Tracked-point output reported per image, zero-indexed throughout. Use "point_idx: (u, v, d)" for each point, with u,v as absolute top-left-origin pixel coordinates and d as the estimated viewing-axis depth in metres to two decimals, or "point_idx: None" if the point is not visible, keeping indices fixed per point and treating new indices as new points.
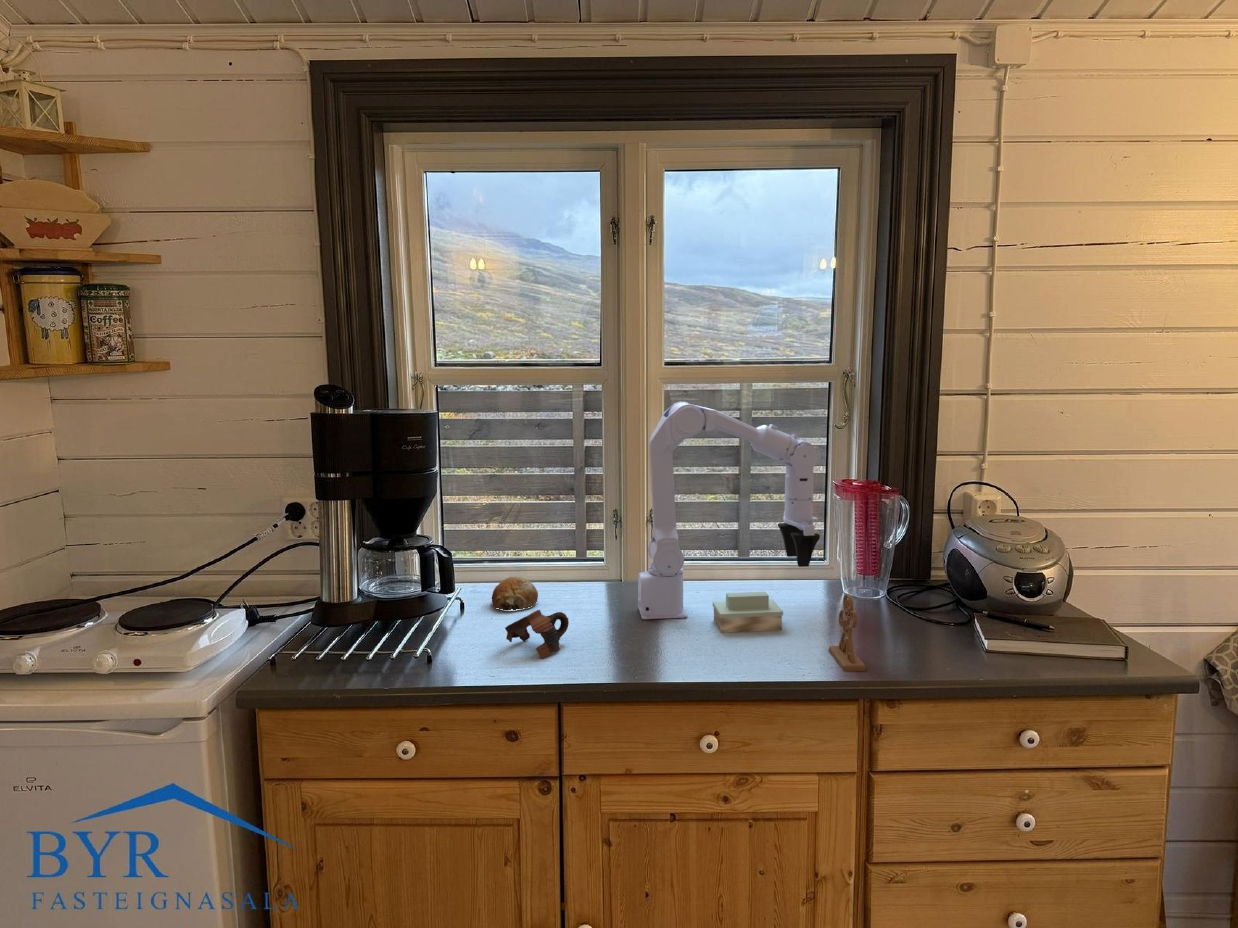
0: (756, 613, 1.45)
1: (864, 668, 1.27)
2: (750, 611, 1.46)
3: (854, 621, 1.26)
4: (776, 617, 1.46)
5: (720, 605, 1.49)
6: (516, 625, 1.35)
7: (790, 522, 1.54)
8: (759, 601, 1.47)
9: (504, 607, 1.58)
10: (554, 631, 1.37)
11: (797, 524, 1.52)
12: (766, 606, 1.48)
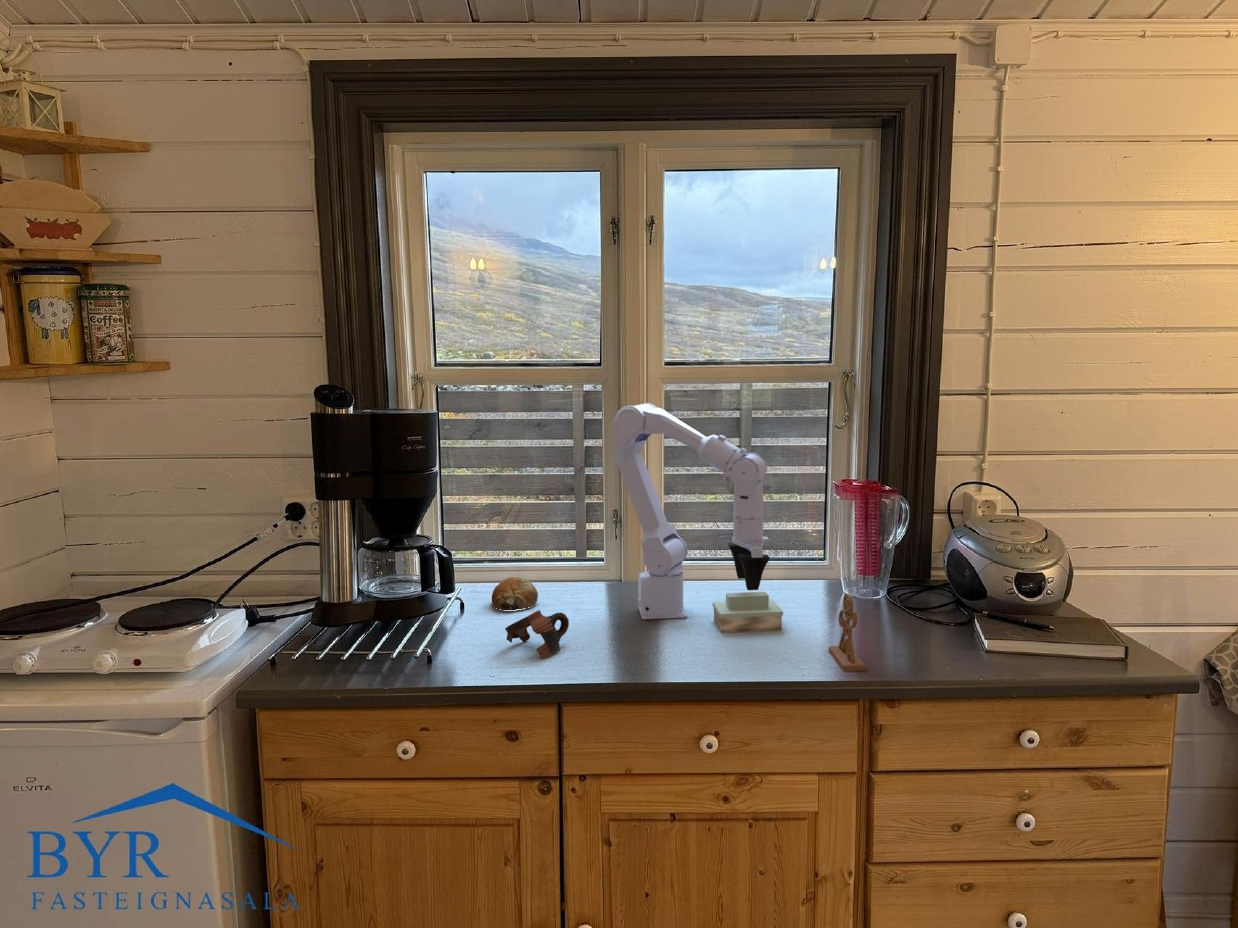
0: (756, 613, 1.45)
1: (864, 668, 1.27)
2: (750, 611, 1.46)
3: (854, 621, 1.26)
4: (776, 617, 1.46)
5: (720, 605, 1.49)
6: (516, 626, 1.35)
7: (738, 543, 1.44)
8: (759, 601, 1.47)
9: (504, 607, 1.58)
10: (554, 632, 1.37)
11: (745, 545, 1.42)
12: (766, 606, 1.48)
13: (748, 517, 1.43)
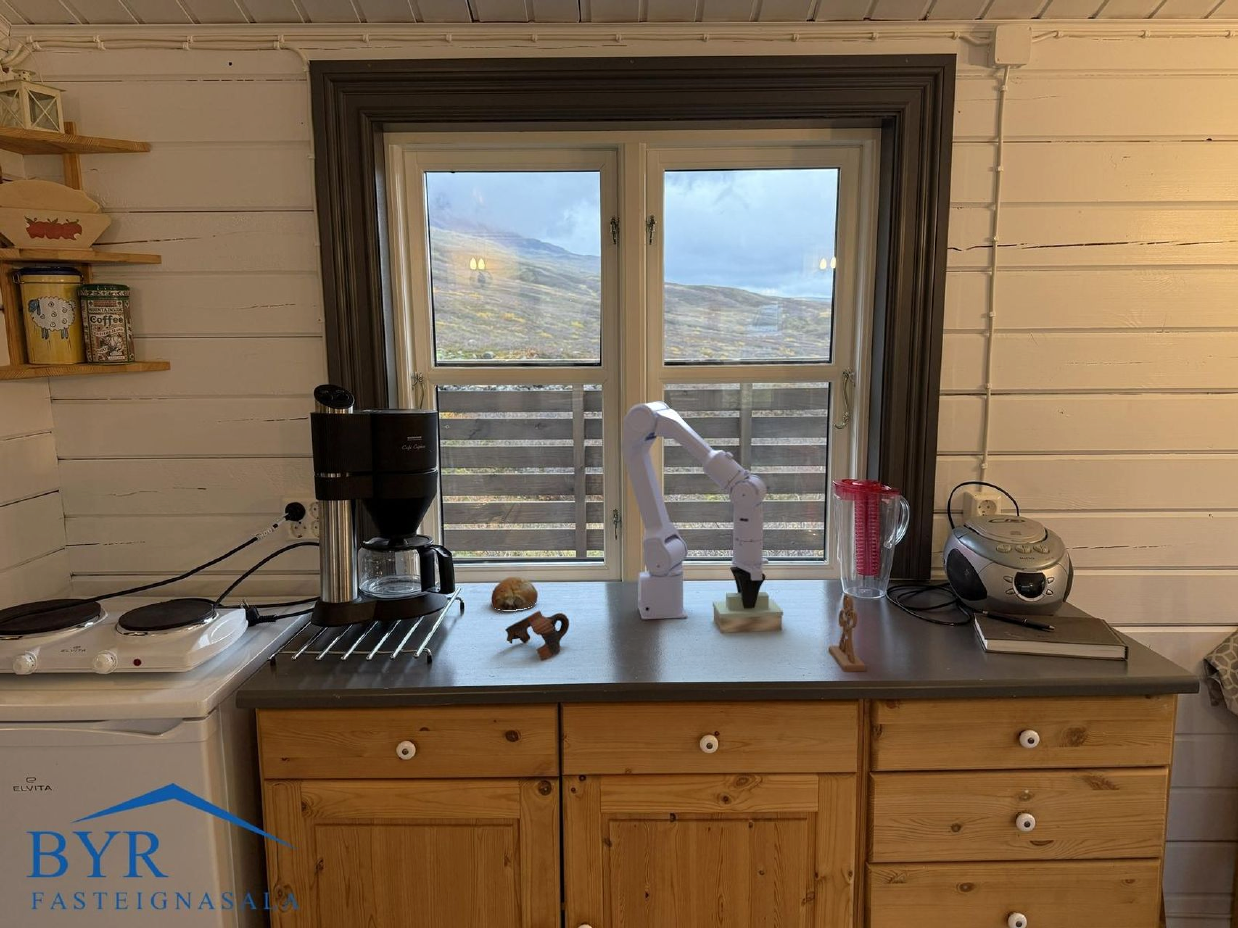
0: (756, 613, 1.45)
1: (864, 668, 1.27)
2: (750, 611, 1.46)
3: (854, 621, 1.26)
4: (776, 617, 1.46)
5: (720, 605, 1.49)
6: (517, 626, 1.35)
7: (738, 565, 1.45)
8: (759, 601, 1.47)
9: (504, 607, 1.58)
10: (555, 632, 1.37)
11: (745, 567, 1.43)
12: (766, 606, 1.48)
13: (748, 539, 1.44)
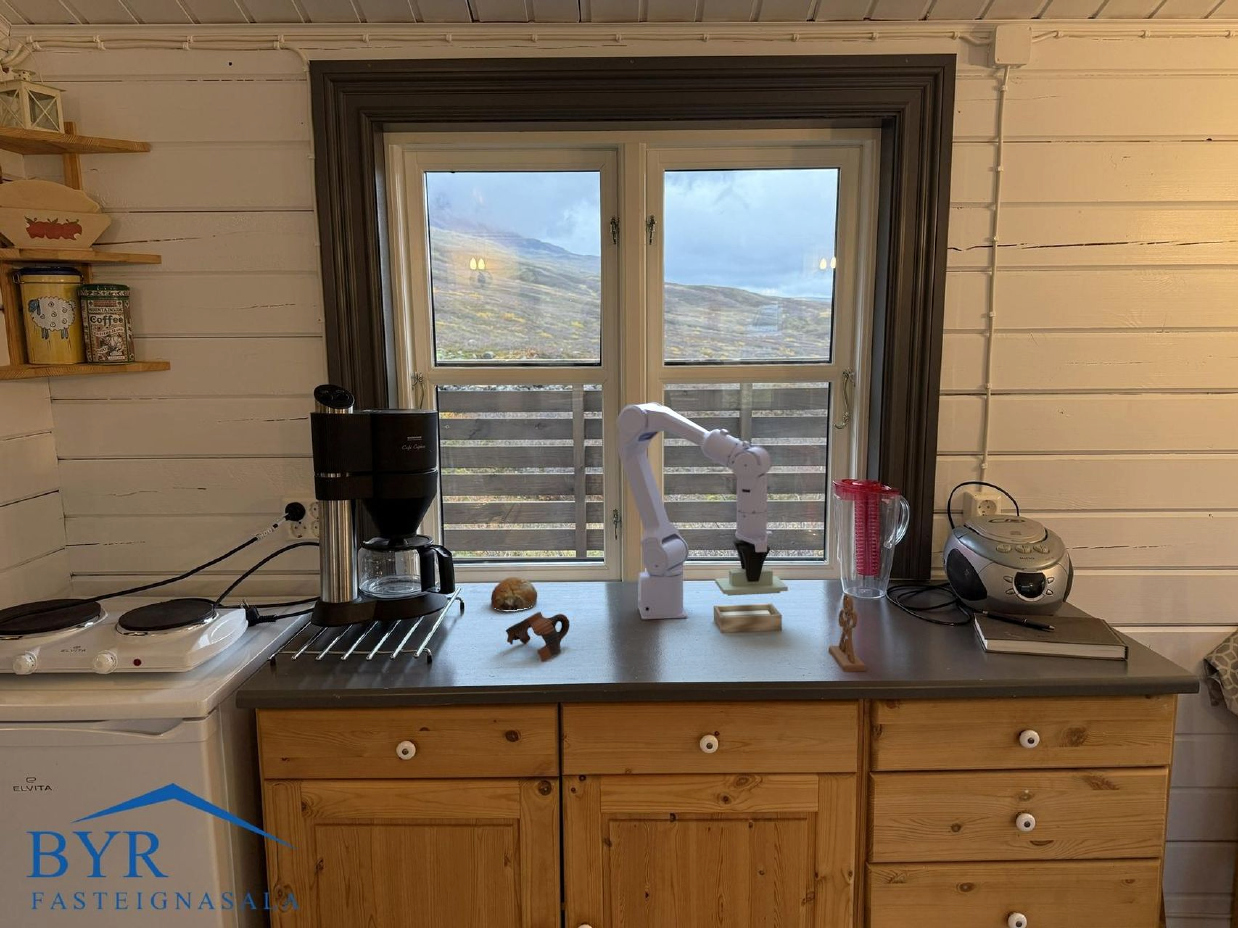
0: (760, 589, 1.42)
1: (864, 668, 1.27)
2: (754, 587, 1.43)
3: (854, 621, 1.26)
4: (776, 617, 1.46)
5: (723, 582, 1.46)
6: (517, 627, 1.34)
7: (742, 537, 1.42)
8: (763, 576, 1.44)
9: (503, 607, 1.58)
10: (555, 633, 1.36)
11: (749, 539, 1.40)
12: (770, 582, 1.45)
13: (750, 511, 1.41)
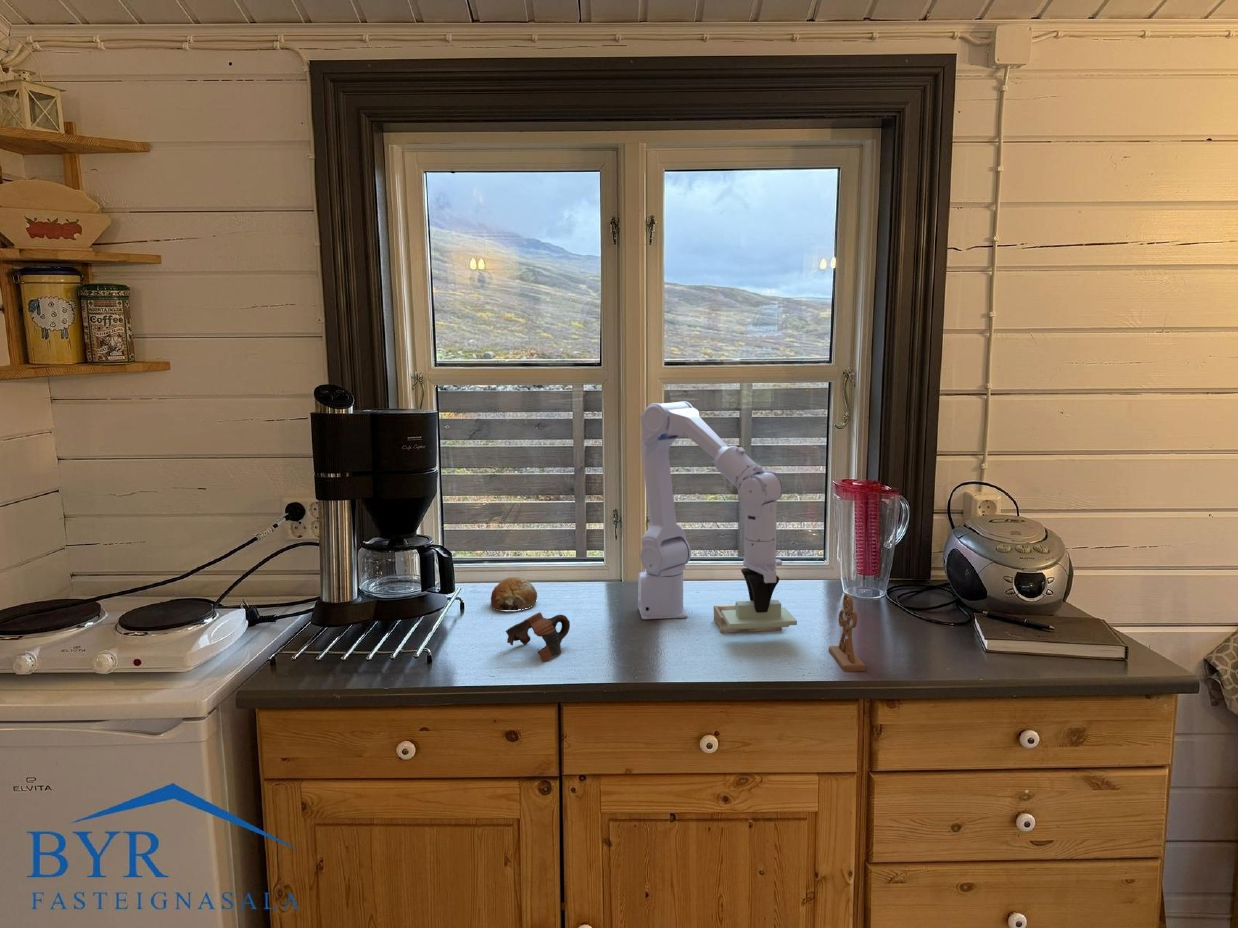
0: (768, 623, 1.36)
1: (864, 668, 1.27)
2: (762, 620, 1.37)
3: (854, 621, 1.26)
4: None
5: (729, 614, 1.40)
6: (517, 628, 1.34)
7: (750, 566, 1.36)
8: (771, 609, 1.38)
9: (503, 608, 1.58)
10: (555, 634, 1.36)
11: (757, 569, 1.34)
12: (778, 615, 1.39)
13: (755, 539, 1.35)
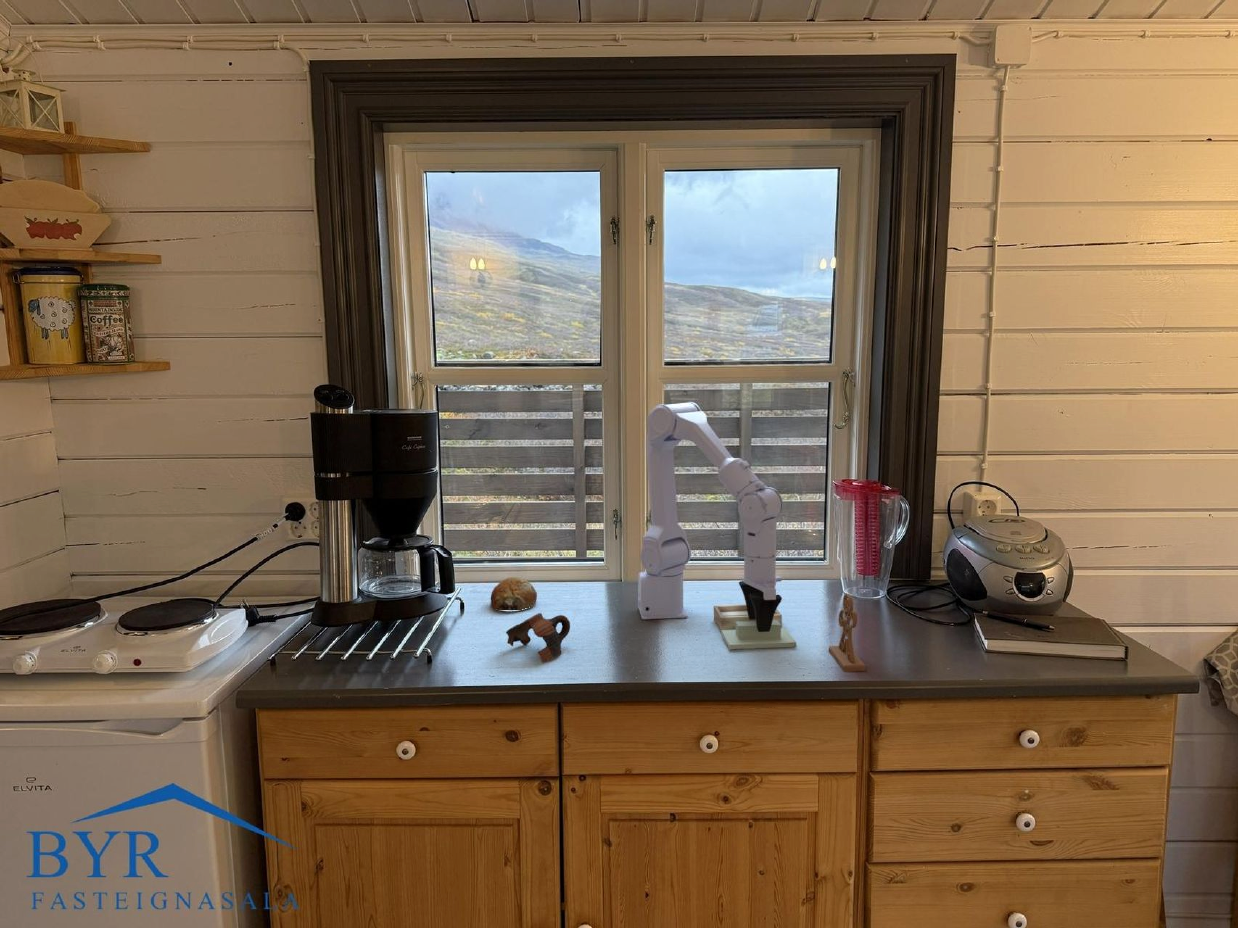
0: (768, 644, 1.37)
1: (864, 668, 1.27)
2: (761, 641, 1.37)
3: (854, 621, 1.26)
4: (776, 617, 1.46)
5: (729, 634, 1.41)
6: (518, 629, 1.33)
7: (749, 582, 1.36)
8: (771, 630, 1.39)
9: (503, 608, 1.58)
10: (556, 635, 1.36)
11: (757, 586, 1.34)
12: (778, 636, 1.39)
13: (755, 555, 1.35)
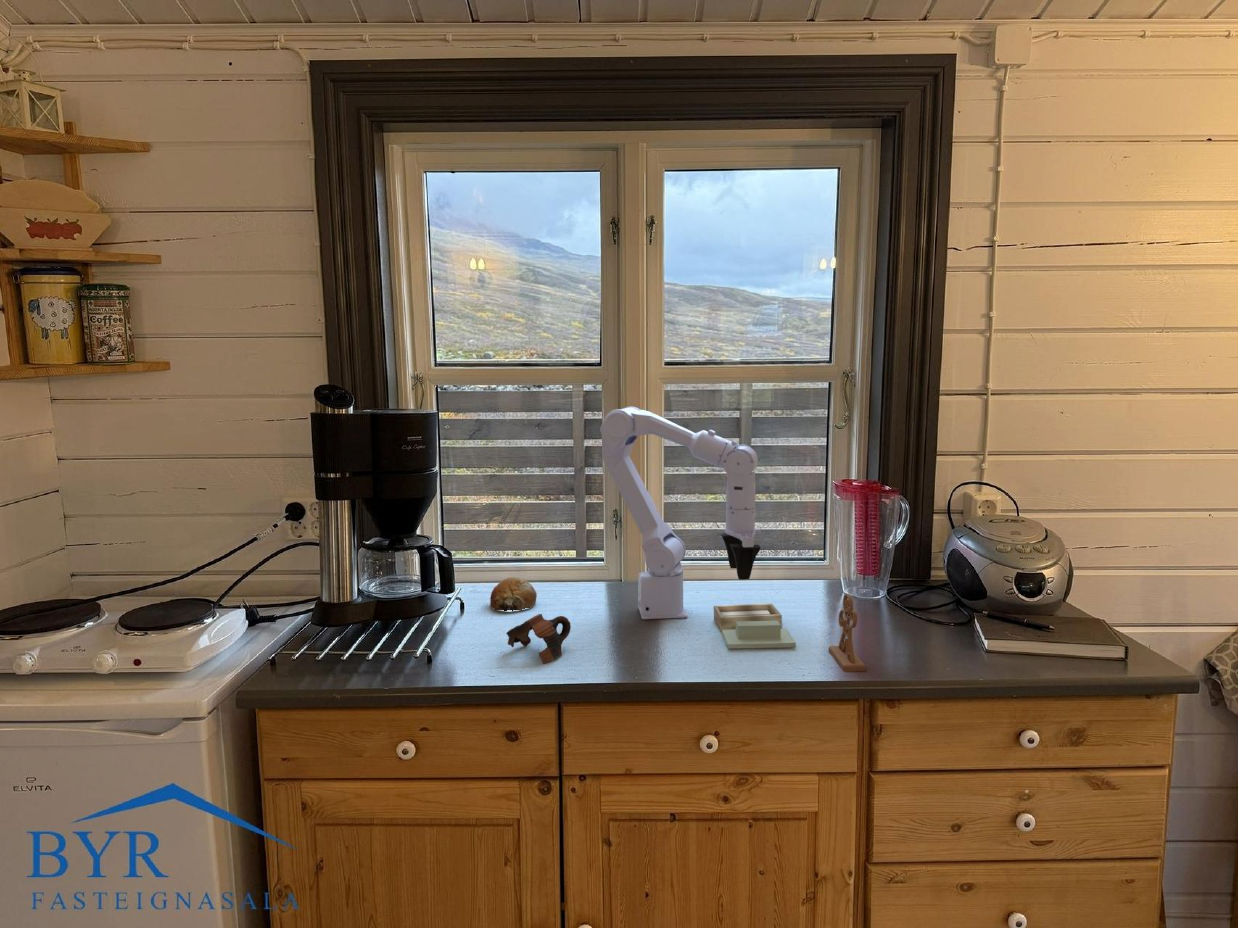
0: (766, 644, 1.37)
1: (864, 668, 1.27)
2: (760, 641, 1.37)
3: (854, 621, 1.26)
4: (776, 617, 1.46)
5: (729, 634, 1.41)
6: (518, 630, 1.33)
7: (730, 533, 1.47)
8: (771, 630, 1.39)
9: (503, 608, 1.58)
10: (556, 635, 1.35)
11: (736, 535, 1.45)
12: (778, 636, 1.39)
13: (742, 507, 1.46)
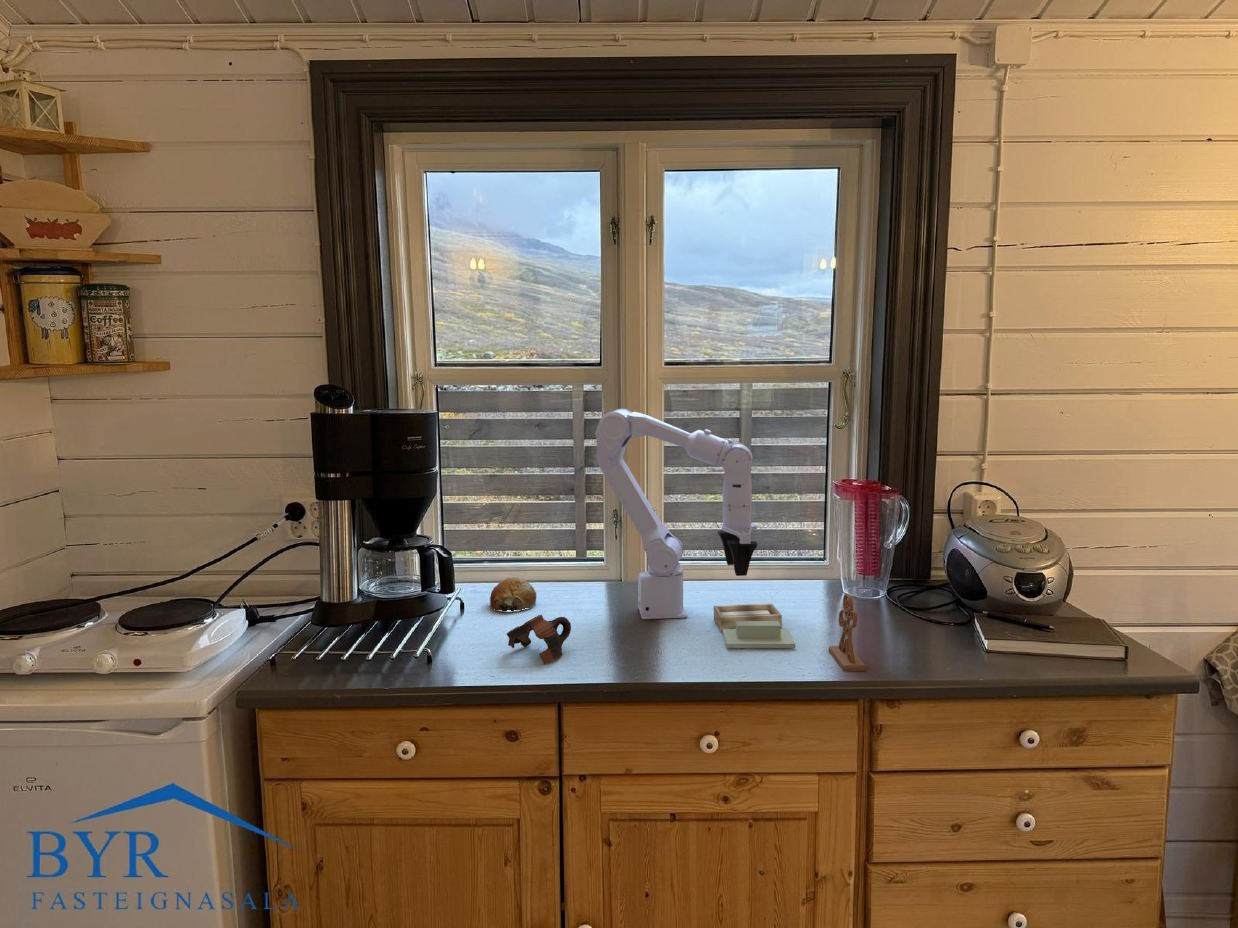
0: (766, 644, 1.36)
1: (864, 668, 1.27)
2: (759, 642, 1.37)
3: (854, 621, 1.26)
4: (776, 617, 1.46)
5: (729, 633, 1.42)
6: (519, 631, 1.32)
7: (727, 530, 1.49)
8: (771, 631, 1.39)
9: (502, 608, 1.58)
10: (557, 636, 1.35)
11: (734, 532, 1.47)
12: (778, 637, 1.39)
13: (741, 505, 1.48)
